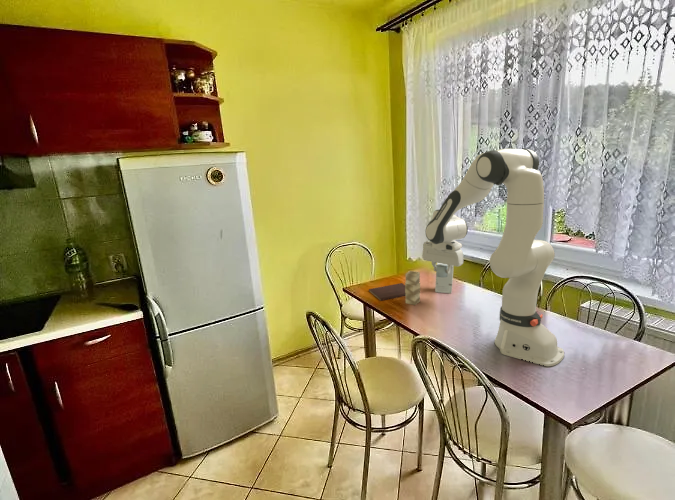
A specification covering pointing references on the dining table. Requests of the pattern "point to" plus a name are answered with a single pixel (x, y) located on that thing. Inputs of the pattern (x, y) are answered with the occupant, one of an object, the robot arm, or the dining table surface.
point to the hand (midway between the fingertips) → (441, 271)
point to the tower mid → (412, 289)
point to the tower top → (412, 278)
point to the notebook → (389, 291)
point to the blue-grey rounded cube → (441, 270)
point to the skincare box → (444, 282)
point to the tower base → (412, 299)
